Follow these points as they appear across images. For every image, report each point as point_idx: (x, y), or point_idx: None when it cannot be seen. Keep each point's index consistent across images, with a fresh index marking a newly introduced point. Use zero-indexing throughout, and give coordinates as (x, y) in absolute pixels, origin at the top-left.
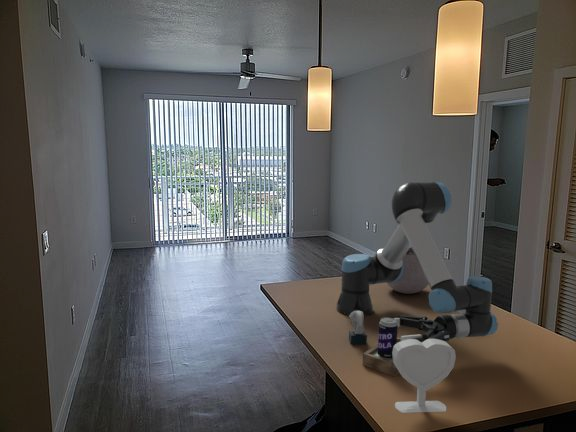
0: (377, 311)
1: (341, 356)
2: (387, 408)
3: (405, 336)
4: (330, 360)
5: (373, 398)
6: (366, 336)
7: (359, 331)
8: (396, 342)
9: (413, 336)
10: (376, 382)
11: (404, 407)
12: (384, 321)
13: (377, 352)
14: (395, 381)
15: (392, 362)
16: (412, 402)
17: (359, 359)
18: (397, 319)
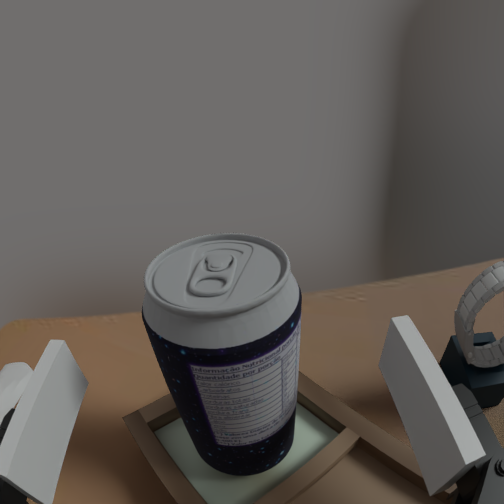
0: None
1: (333, 328)
2: (32, 348)
3: (43, 361)
4: (303, 301)
5: (74, 340)
6: (470, 389)
7: (459, 342)
8: (195, 430)
9: (17, 411)
10: (131, 375)
11: (8, 373)
12: (216, 253)
13: (299, 414)
14: (110, 429)
15: (143, 417)
16: (1, 392)
17: (308, 373)
18: (454, 443)
